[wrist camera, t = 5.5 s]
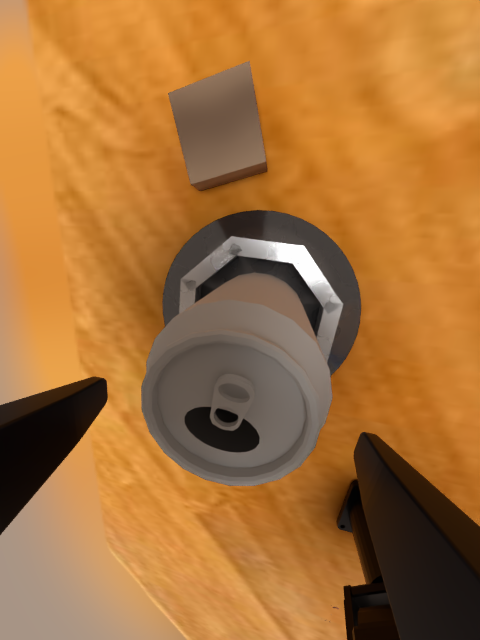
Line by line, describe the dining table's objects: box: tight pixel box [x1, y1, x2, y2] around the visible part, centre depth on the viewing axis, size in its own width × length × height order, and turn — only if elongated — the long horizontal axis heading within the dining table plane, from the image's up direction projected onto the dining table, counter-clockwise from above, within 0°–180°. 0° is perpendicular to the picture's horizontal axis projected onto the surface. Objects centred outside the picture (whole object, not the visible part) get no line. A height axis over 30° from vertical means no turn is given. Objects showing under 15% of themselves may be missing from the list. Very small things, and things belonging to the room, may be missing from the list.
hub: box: [163, 210, 361, 376], centre depth 19 cm, size 16×16×2 cm
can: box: [142, 272, 332, 486], centre depth 13 cm, size 8×8×12 cm
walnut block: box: [168, 61, 267, 191], centre depth 15 cm, size 5×5×2 cm
